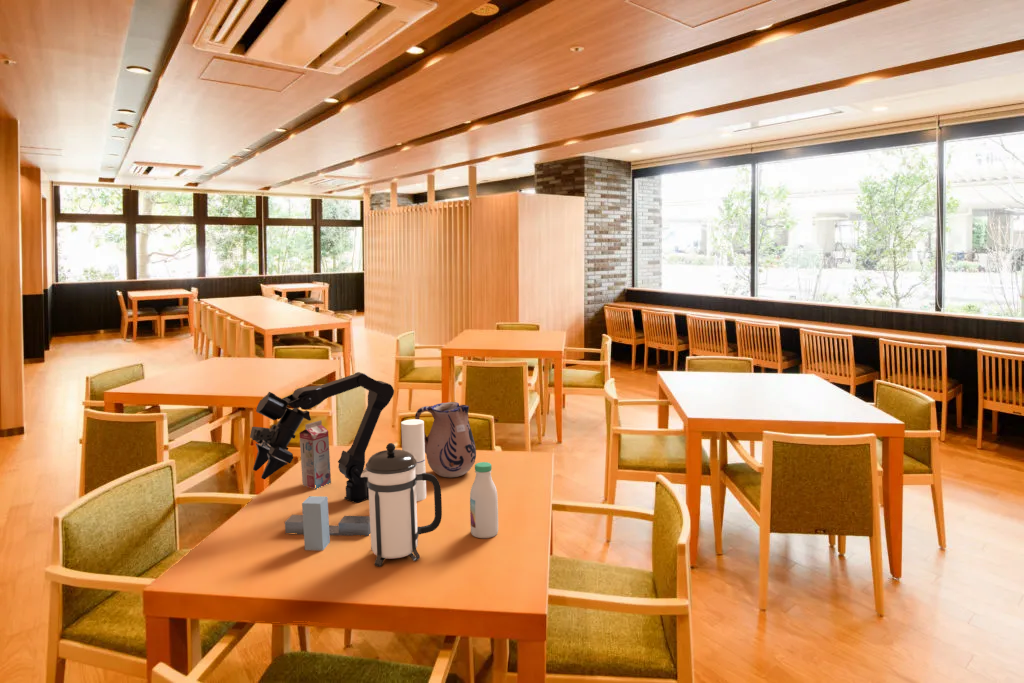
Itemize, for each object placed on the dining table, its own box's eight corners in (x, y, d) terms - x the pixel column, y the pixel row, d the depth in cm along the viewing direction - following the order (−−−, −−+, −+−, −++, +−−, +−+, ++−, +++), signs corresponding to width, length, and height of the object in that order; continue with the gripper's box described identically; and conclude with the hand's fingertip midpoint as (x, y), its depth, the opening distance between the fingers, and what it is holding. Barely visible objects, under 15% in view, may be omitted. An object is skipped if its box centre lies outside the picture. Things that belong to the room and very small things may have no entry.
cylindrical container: (399, 499, 204) (396, 423, 201) (411, 492, 210) (408, 418, 207) (419, 502, 201) (416, 425, 198) (430, 494, 208) (427, 420, 205)
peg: (312, 541, 174) (309, 496, 173) (329, 542, 174) (327, 496, 172) (304, 550, 169) (302, 503, 168) (323, 550, 169) (320, 503, 167)
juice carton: (331, 483, 220) (327, 421, 217) (315, 489, 214) (312, 425, 212) (318, 480, 224) (314, 418, 221) (302, 485, 218) (298, 423, 215)
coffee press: (400, 575, 155) (395, 456, 151) (353, 559, 163) (347, 446, 160) (444, 547, 170) (441, 438, 166) (399, 534, 178) (395, 430, 174)
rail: (293, 526, 184) (292, 514, 184) (373, 528, 182) (373, 516, 182) (285, 534, 179) (284, 521, 179) (368, 535, 178) (368, 523, 177)
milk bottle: (502, 529, 181) (501, 461, 178) (492, 540, 173) (491, 469, 171) (477, 525, 183) (475, 458, 180) (466, 537, 176) (464, 467, 173)
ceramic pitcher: (479, 480, 221) (477, 410, 217) (417, 484, 217) (415, 413, 214) (473, 464, 238) (472, 399, 235) (416, 468, 234) (414, 401, 231)
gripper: (254, 409, 193) (226, 455, 189) (272, 421, 178) (241, 472, 174) (286, 425, 199) (259, 470, 196) (305, 438, 184) (276, 487, 181)
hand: (258, 474), depth 186 cm, fingers open, 9 cm apart
